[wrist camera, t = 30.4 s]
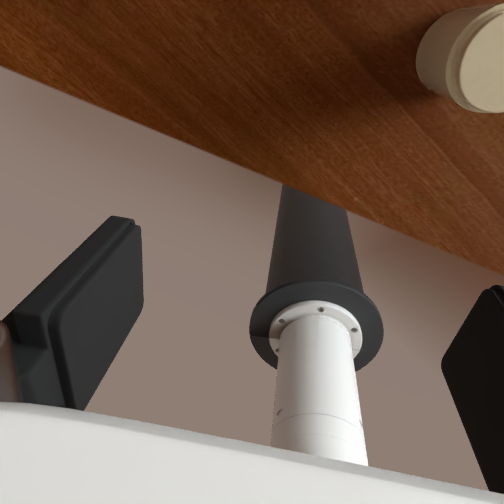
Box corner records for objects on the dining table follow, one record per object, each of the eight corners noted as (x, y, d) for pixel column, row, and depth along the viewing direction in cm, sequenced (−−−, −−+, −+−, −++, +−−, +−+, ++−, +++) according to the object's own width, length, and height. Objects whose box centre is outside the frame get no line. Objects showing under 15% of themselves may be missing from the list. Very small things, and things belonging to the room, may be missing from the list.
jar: (482, 97, 32) (542, 121, 24) (406, 92, 32) (440, 114, 24) (513, 9, 28) (595, 2, 20) (428, 5, 29) (475, -3, 21)
